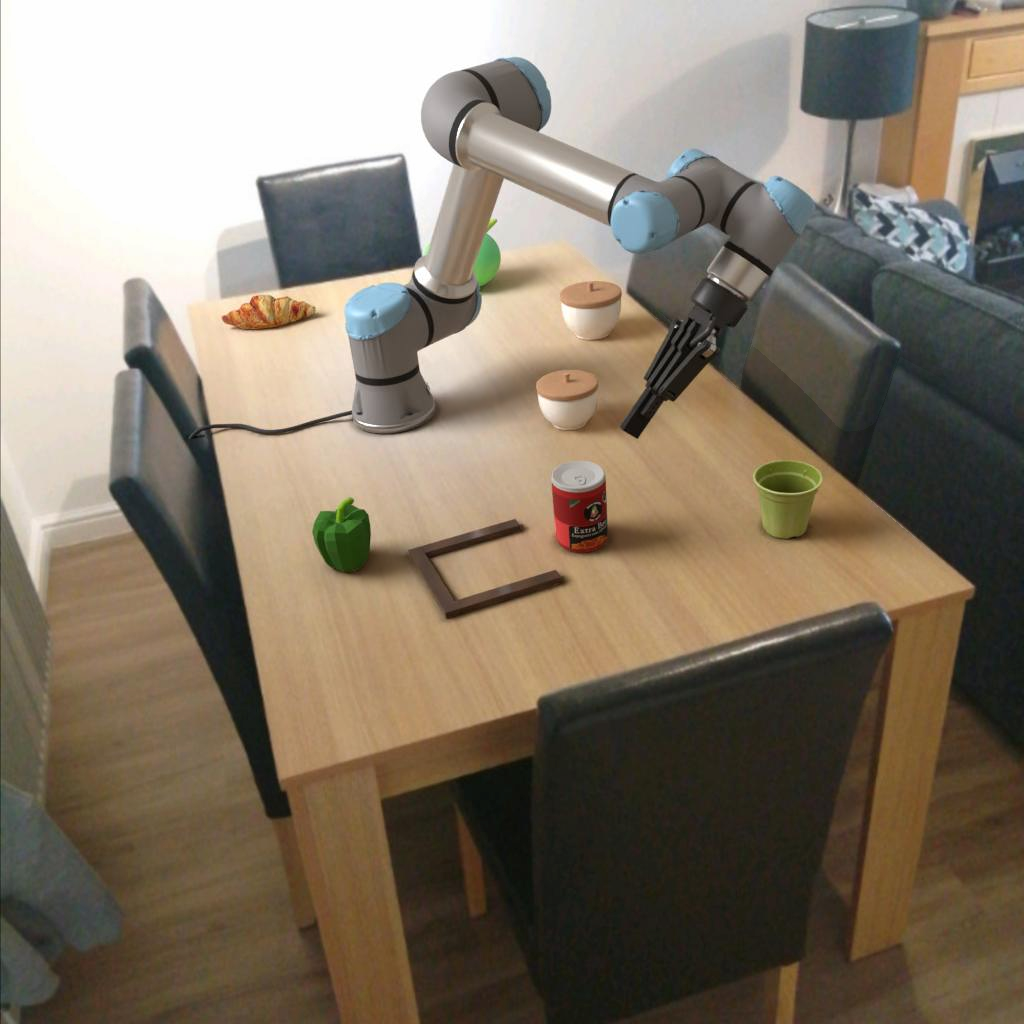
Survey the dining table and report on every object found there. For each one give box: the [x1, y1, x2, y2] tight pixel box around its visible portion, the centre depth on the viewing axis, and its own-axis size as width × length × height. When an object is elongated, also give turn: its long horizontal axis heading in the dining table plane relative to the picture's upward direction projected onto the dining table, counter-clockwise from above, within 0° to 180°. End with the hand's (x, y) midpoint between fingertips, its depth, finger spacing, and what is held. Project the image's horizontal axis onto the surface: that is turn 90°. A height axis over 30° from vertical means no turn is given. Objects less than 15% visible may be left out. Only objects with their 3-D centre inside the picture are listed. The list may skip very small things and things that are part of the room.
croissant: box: [221, 294, 317, 330], centre depth 237 cm, size 21×10×8 cm, turn 101°
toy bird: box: [424, 218, 502, 287], centre depth 243 cm, size 18×17×15 cm
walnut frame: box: [407, 518, 563, 619], centre depth 147 cm, size 17×17×1 cm
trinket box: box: [535, 369, 599, 431], centre depth 181 cm, size 11×11×9 cm
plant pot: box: [752, 459, 824, 539], centre depth 147 cm, size 9×9×9 cm
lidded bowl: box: [559, 280, 623, 341], centre depth 214 cm, size 13×13×11 cm
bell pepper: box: [311, 496, 372, 573], centre depth 149 cm, size 8×8×10 cm
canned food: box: [550, 460, 609, 554], centre depth 149 cm, size 8×8×11 cm
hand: (628, 432), depth 146 cm, fingers closed
